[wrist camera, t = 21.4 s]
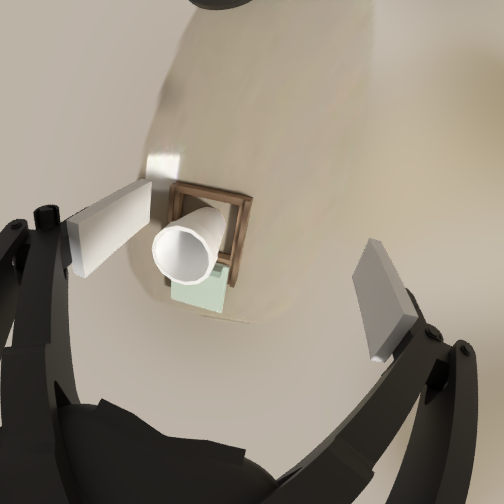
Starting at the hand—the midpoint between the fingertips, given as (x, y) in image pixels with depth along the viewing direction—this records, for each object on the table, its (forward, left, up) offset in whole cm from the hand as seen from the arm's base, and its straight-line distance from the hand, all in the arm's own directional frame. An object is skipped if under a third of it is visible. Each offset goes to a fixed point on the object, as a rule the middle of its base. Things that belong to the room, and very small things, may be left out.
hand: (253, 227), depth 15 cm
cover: (+26, -10, -28) cm, 39 cm away
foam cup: (+14, -10, -30) cm, 35 cm away
